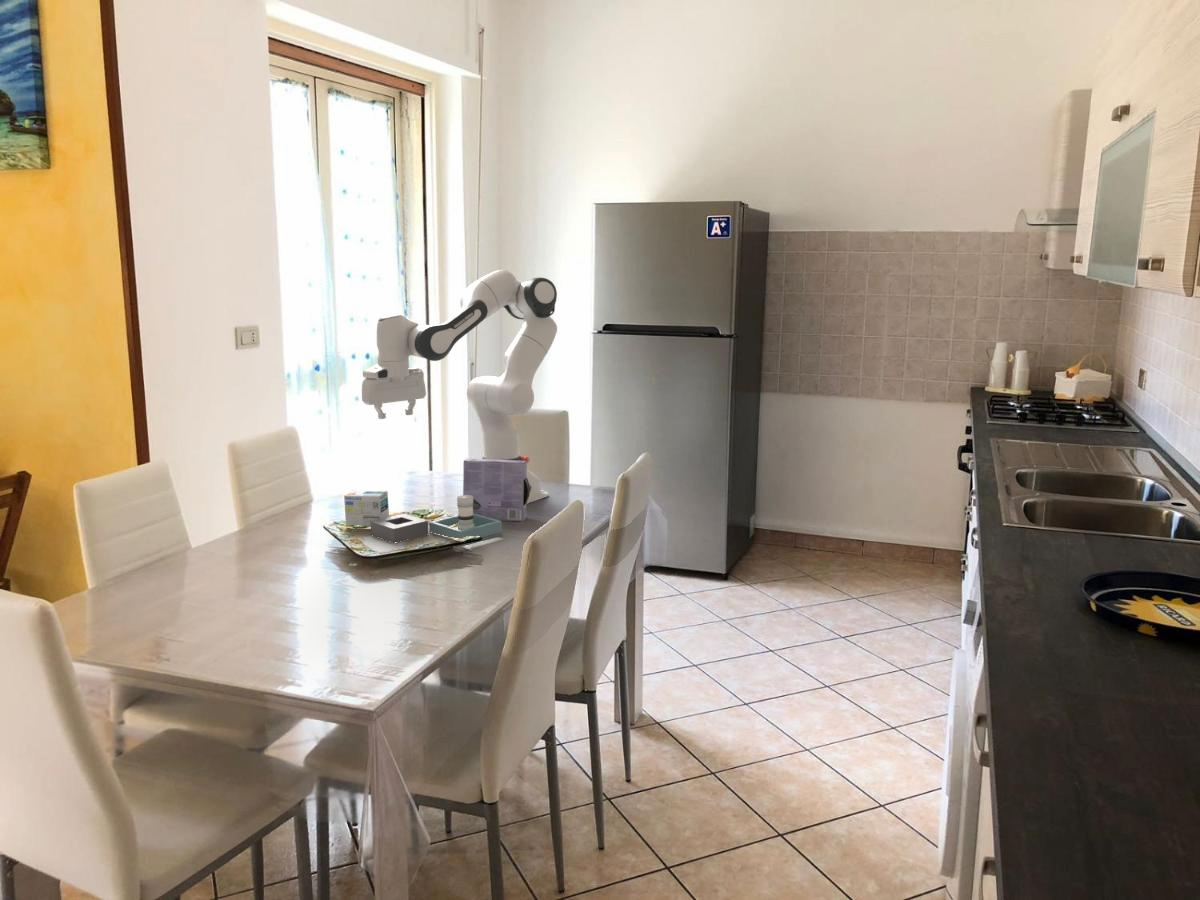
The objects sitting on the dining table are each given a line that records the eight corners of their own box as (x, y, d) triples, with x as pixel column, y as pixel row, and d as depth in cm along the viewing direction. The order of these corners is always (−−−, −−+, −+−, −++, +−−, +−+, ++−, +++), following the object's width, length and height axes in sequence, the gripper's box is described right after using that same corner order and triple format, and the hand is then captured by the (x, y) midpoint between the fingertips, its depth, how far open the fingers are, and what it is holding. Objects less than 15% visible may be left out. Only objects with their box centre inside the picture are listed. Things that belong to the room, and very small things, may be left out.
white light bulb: (467, 529, 260) (466, 494, 258) (477, 532, 257) (476, 496, 255) (454, 532, 257) (453, 497, 255) (464, 535, 254) (463, 499, 252)
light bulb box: (390, 526, 267) (388, 490, 265) (382, 533, 260) (380, 496, 258) (354, 526, 268) (351, 489, 266) (345, 532, 261) (343, 495, 259)
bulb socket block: (405, 530, 263) (404, 513, 262) (428, 538, 255) (427, 520, 254) (371, 538, 255) (370, 521, 254) (394, 547, 248) (393, 528, 247)
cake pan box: (530, 517, 276) (529, 458, 273) (527, 522, 271) (526, 462, 268) (466, 516, 278) (464, 457, 274) (462, 520, 273) (460, 461, 270)
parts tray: (469, 525, 267) (469, 512, 267) (502, 535, 258) (501, 521, 257) (429, 536, 257) (429, 522, 257) (461, 546, 248) (461, 531, 247)
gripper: (416, 366, 283) (418, 411, 286) (357, 372, 269) (360, 419, 271) (429, 367, 279) (431, 413, 282) (369, 373, 264) (372, 422, 267)
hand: (395, 416), depth 276 cm, fingers open, 8 cm apart
